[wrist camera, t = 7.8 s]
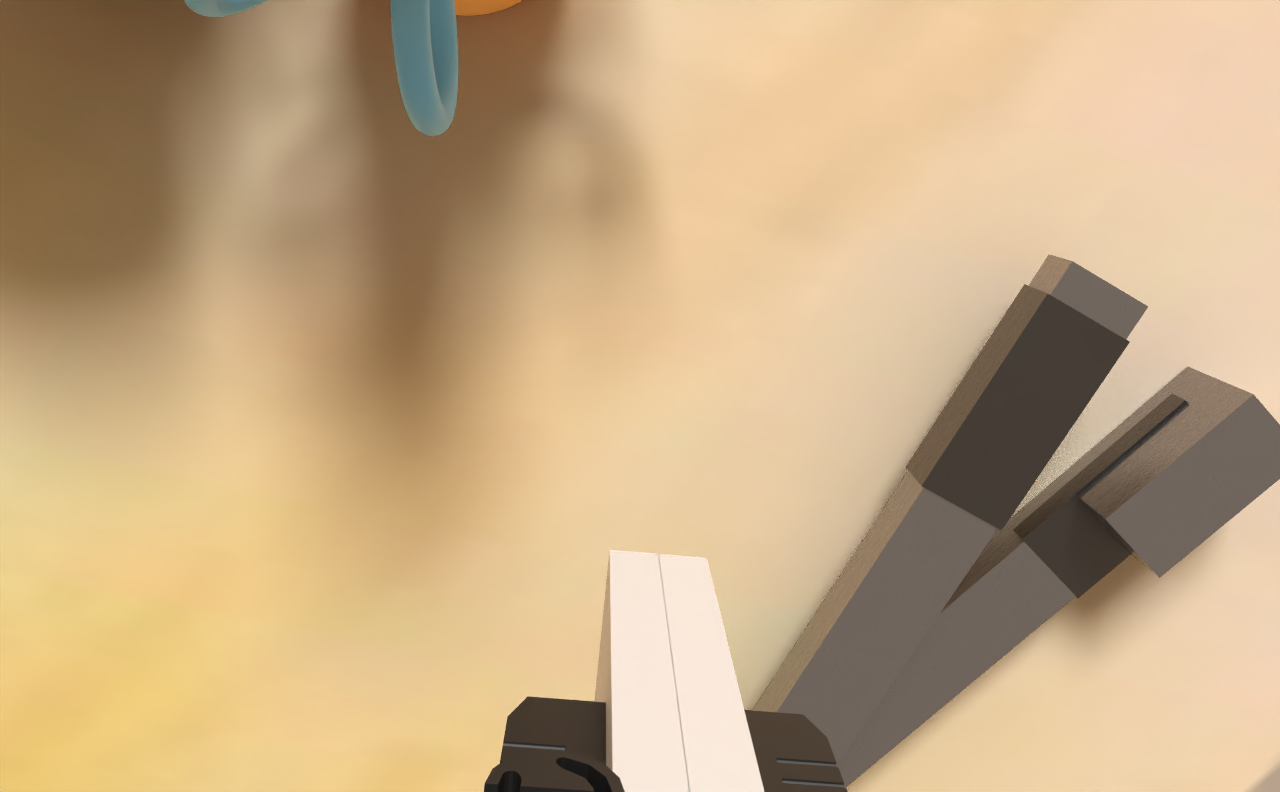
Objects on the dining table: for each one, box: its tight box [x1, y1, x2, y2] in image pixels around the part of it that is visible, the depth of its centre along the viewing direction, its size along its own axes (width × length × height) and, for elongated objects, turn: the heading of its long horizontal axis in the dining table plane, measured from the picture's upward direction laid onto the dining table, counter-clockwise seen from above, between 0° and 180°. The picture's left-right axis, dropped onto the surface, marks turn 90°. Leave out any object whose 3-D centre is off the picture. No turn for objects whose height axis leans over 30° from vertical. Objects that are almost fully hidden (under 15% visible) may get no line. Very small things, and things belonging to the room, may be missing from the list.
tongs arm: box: [752, 255, 1148, 766], centre depth 31 cm, size 20×3×2 cm, turn 151°
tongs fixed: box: [836, 367, 1280, 788], centre depth 32 cm, size 23×3×4 cm, turn 134°
